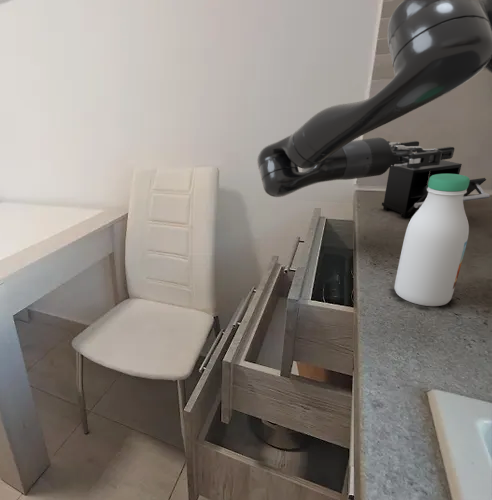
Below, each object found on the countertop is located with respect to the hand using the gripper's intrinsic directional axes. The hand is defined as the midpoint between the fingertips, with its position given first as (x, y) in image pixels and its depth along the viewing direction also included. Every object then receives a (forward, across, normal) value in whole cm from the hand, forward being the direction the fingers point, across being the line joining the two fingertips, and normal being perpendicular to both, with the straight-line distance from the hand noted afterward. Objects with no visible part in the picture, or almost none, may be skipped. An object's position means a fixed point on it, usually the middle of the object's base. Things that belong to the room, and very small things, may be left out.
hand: (433, 149), depth 75 cm
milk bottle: (-17, -22, +19) cm, 34 cm away
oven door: (+7, +7, +18) cm, 20 cm away
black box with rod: (+10, +13, +19) cm, 25 cm away
